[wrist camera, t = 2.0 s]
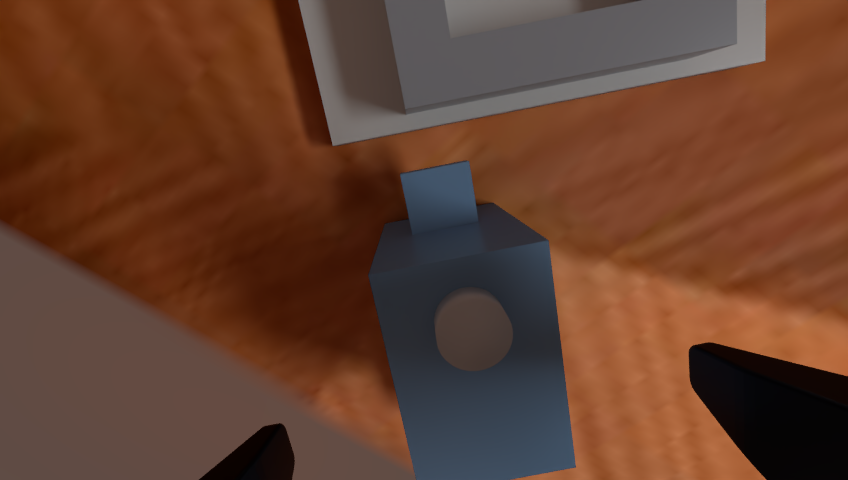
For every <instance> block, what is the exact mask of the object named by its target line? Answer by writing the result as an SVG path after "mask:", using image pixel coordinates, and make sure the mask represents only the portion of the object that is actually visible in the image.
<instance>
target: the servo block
mask: <svg viewBox="0 0 848 480" xmlns="http://www.w3.org/2000/svg"><path fill="white" fill-rule="evenodd" d="M400 176H401V181H402V186H403V191H404V196H405V201H406V206H407V211H408V216H409V219H406V220H401V221H396V222H391V223H386V224H385V225H384V228H383V231H382V234H381V237H380V241H379V244H378V247H377V250H376V253H375V256H374V259H373V262H372V265H371V268H370V271H369V274H368V276H369V280H370V284H371V289H372V293H373V297H374V301H375V306H376V310H377V314H378V318H379V323H380V327H381V331H382V336H383V340H384V344H385V348H386V353H387V357H388V361H389V365H390V370H391V374H392V378H393V382H394V387H395V391H396V395H397V399H398V404H399V408H400V412H401V417H402V421H403V425H404V429H405V434H406V438H407V442H408V446H409V451H410V455H411V459H412V463H413V468H414V472H415V476H416V480H510V479H515V478H521V477H526V476H531V475H537V474H542V473H548V472H553V471H558V470H564V469H569V468H574V467H576V465H575V457H574V449H573V440H572V432H571V424H570V415H569V407H568V399H567V391H566V382H565V374H564V366H563V357H562V349H561V341H560V333H559V324H558V316H557V308H556V299H555V291H554V283H553V274H552V266H551V258H550V250H549V241H548V240H547V239H546V238H544V237H543V236H541V235H540V234H538V233H537V232H535V231H534V230H532V229H531V228H530V227H528V226H527V225H525V224H524V223H522V222H521V221H519V220H518V219H516V218H515V217H513V216H512V215H510V214H509V213H507V212H506V211H505V210H503V209H502V208H500V207H499V206H497V205H496V204H494V203H489V204H484V205H479V206H476V202H475V196H474V190H473V184H472V177H471V171H470V165H469V161H466V160H465V161H460V162H455V163H450V164H445V165H440V166H435V167H430V168H424V169H419V170H414V171H409V172H404V173H401V174H400Z"/></svg>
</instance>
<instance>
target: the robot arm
mask: <svg viewBox="0 0 848 480" xmlns="http://www.w3.org/2000/svg"><path fill="white" fill-rule="evenodd" d="M689 372H690V382H691V385H692V388H693V389H694V391H695V392H696V394H697V395H698V396H699V398H700V399H701V400H702V402H703V403H704V404H705V405H706V407H707V408H708V409H709V411H710V412H711V413H712V415H713V416H714V417H715V418H716V420H717V421H718V422H719V424H720V425H721V426H722V428H723V429H724V430H725V431H726V433H727V434H728V435H729V437H730V438H731V439H732V440H733V442H734V443H735V444H736V446H737V447H738V448H739V449H740V450H741V452H742V453H743V454H744V455H745V456H746V458H747V459H748V460H749V461H750V462H751V463H752V464H753V465H754V467H755V468H756V469H757V470H758V471H759V472H760V473H761V474H762V475H763V476H764V477H765V479H766V480H848V376H844V375H840V374H836V373H832V372H828V371H824V370H820V369H816V368H812V367H808V366H804V365H800V364H796V363H792V362H788V361H784V360H780V359H776V358H772V357H768V356H764V355H760V354H756V353H752V352H748V351H744V350H740V349H736V348H732V347H728V346H724V345H720V344H716V343H703V344H698V345H693V346H692V347H691V348H690V349H689ZM294 462H295V460H294V453H293V450H292V447H291V443H290V441H289V437H288V434H287V431H286V428H285V426H284V425H283V424H280V423H279V424H273V425H268V426H264V427H262V428H261V429H260V430H259V431H257V432H256V433H255V434H254V435H252V436H251V437H250V438H249V439H248V440H246V441H245V442H244V443H243V444H242V445H240V446H239V447H238V448H237V449H236V450H234V451H233V452H232V453H231V454H229V455H228V456H227V457H226V458H225V459H223V460H222V461H221V462H220V463H219V464H217V465H216V466H215V467H214V468H212V469H211V470H210V471H209V472H208V473H206V474H205V475H204V476H203V477H202V478H200V479H199V480H292V475H293V470H294Z"/></svg>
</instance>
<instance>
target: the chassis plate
mask: <svg viewBox="0 0 848 480" xmlns="http://www.w3.org/2000/svg"><path fill="white" fill-rule="evenodd" d="M298 2H299V6H300V10H301V14H302V18H303V23H304V27H305V31H306V35H307V39H308V44H309V48H310V52H311V56H312V60H313V65H314V69H315V73H316V77H317V81H318V86H319V90H320V94H321V98H322V102H323V107H324V111H325V115H326V119H327V124H328V128H329V132H330V136H331V140H332V145H333V146H340V145H345V144H350V143H355V142H360V141H365V140H370V139H375V138H380V137H385V136H390V135H396V134H401V133H406V132H411V131H416V130H421V129H426V128H431V127H436V126H441V125H446V124H451V123H457V122H462V121H467V120H472V119H477V118H482V117H487V116H492V115H497V114H502V113H507V112H513V111H518V110H523V109H528V108H533V107H538V106H543V105H548V104H553V103H558V102H563V101H569V100H574V99H579V98H584V97H589V96H594V95H599V94H604V93H609V92H614V91H619V90H625V89H630V88H635V87H640V86H645V85H650V84H655V83H660V82H665V81H670V80H675V79H681V78H686V77H691V76H696V75H701V74H706V73H711V72H716V71H721V70H726V69H731V68H737V67H741V66H746V65H750V64H754V63H758V62H762V61H765V26H766V0H298Z"/></svg>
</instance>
